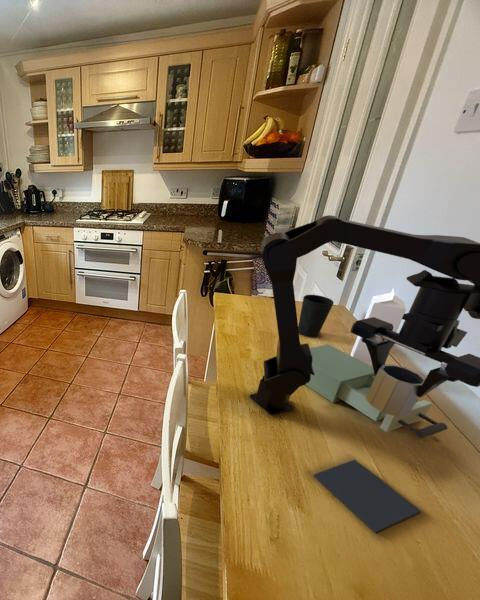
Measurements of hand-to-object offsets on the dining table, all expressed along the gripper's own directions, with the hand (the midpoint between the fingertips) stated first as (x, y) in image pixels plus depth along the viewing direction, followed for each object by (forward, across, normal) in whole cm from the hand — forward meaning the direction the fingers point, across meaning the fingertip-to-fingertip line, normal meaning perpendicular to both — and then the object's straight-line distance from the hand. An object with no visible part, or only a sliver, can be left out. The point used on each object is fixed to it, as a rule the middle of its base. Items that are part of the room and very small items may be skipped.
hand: (397, 384), depth 61 cm
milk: (+12, +16, -23) cm, 31 cm away
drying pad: (+12, -8, +17) cm, 22 cm away
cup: (+12, +34, -25) cm, 44 cm away
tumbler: (+5, 0, 0) cm, 5 cm away
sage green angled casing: (+12, +15, -7) cm, 20 cm away
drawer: (+11, +2, -6) cm, 13 cm away
